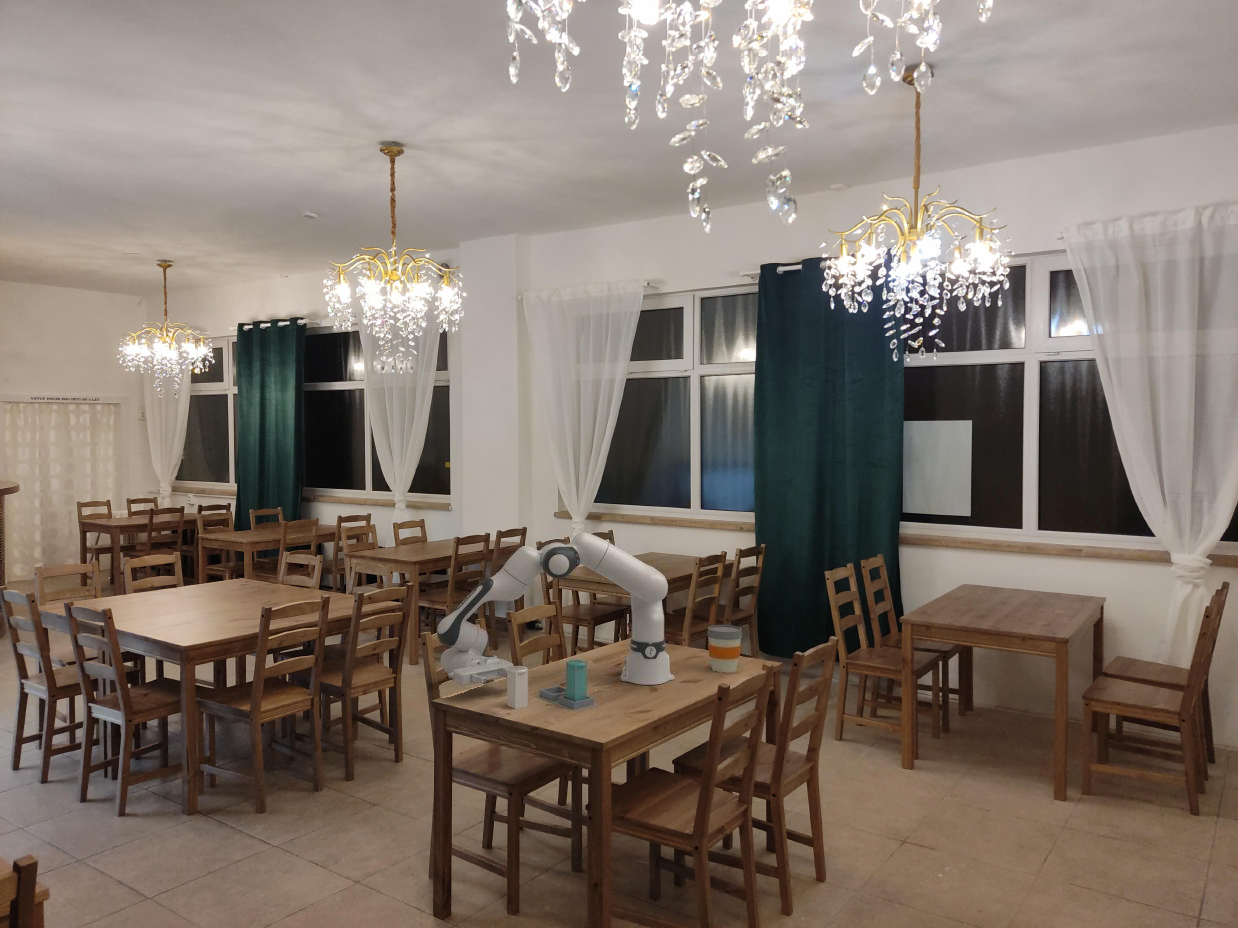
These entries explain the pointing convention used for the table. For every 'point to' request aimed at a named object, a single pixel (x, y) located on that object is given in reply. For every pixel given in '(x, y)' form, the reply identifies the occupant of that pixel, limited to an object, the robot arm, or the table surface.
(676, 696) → the table surface
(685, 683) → the table surface
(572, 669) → the teal square canister
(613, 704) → the table surface
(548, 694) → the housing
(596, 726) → the table surface
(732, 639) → the reusable coffee cup
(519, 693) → the post
